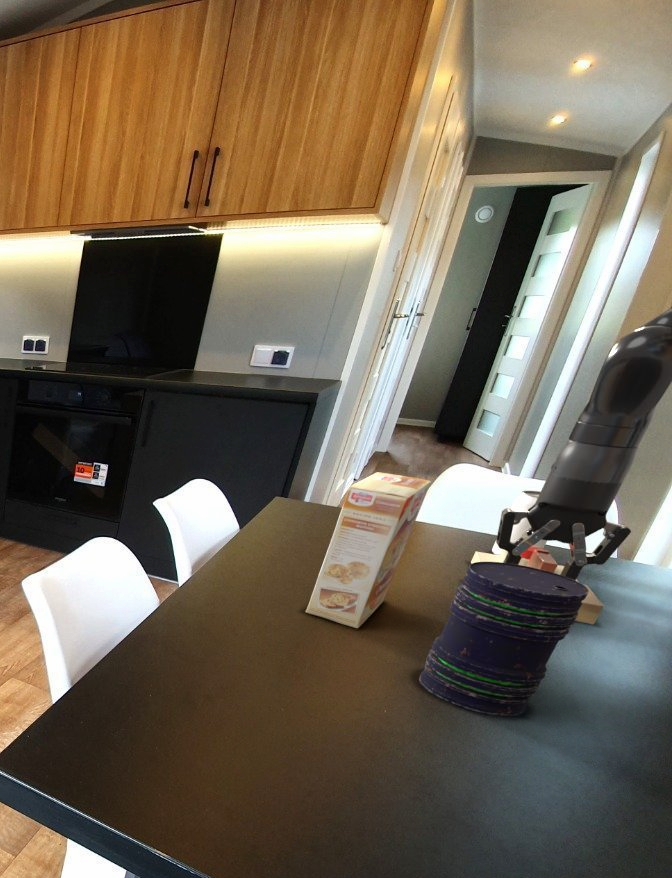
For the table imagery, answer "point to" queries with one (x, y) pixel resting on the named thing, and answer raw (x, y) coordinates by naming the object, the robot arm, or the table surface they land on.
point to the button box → (497, 558)
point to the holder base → (589, 608)
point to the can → (522, 504)
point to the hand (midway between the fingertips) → (534, 580)
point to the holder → (542, 561)
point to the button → (529, 552)
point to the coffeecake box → (366, 547)
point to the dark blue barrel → (501, 636)
